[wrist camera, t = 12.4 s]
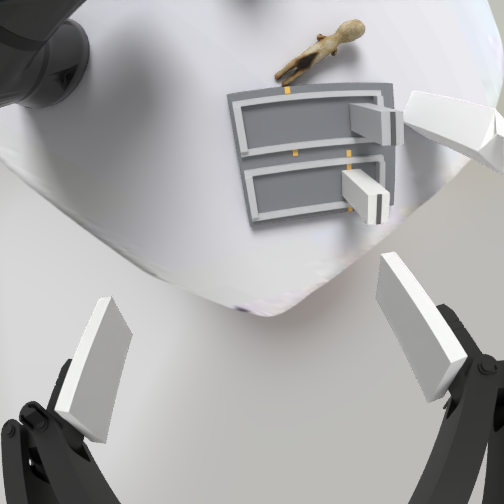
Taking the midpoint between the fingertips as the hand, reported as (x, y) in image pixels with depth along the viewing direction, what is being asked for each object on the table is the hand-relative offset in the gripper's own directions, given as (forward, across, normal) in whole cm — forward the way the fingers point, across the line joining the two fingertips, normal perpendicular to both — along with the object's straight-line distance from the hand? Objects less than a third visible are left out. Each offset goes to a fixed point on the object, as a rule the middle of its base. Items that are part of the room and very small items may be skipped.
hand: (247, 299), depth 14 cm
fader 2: (+31, +16, -7) cm, 35 cm away
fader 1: (+31, +18, +3) cm, 36 cm away
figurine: (+33, +13, +13) cm, 38 cm away
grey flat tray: (+33, +12, -2) cm, 35 cm away
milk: (+33, +30, +3) cm, 45 cm away
